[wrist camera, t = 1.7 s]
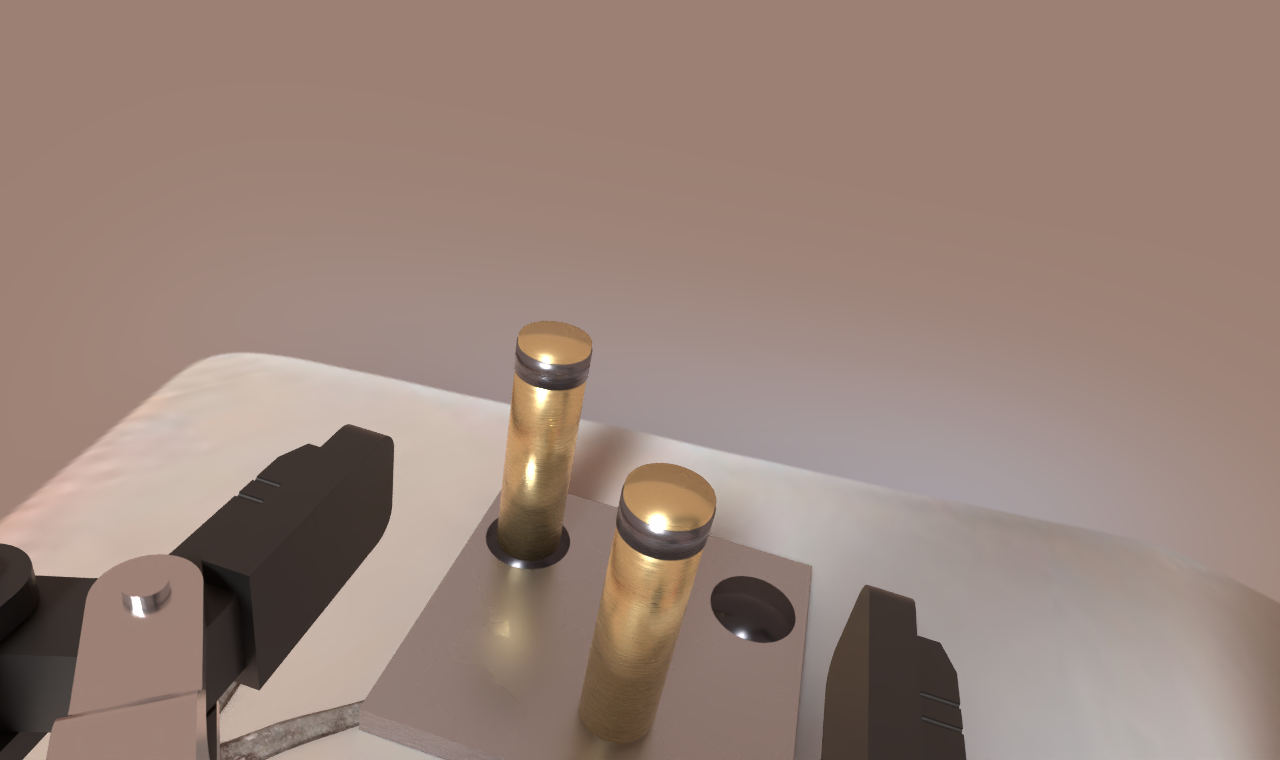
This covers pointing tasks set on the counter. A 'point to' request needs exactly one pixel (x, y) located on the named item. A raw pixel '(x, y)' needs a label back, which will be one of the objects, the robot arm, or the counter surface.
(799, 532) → the counter surface
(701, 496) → the loose brass leg
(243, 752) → the pliers
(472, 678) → the flange plate
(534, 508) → the fixed brass leg
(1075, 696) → the counter surface
